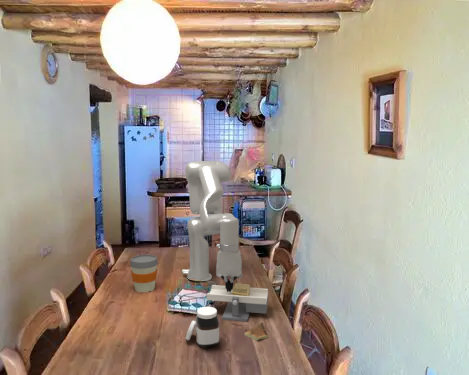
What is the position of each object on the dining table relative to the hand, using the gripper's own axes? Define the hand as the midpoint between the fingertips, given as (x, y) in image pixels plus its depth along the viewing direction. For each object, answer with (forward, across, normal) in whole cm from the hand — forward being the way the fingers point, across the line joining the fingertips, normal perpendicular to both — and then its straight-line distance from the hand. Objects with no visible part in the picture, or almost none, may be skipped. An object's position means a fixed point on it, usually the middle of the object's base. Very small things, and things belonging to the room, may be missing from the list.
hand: (229, 290), depth 162 cm
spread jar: (+9, -5, -26) cm, 28 cm away
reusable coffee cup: (+9, -44, +16) cm, 47 cm away
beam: (+7, +4, 0) cm, 8 cm away
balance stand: (+9, +4, 0) cm, 9 cm away
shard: (+9, +13, -17) cm, 23 cm away
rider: (+2, +5, 0) cm, 5 cm away
